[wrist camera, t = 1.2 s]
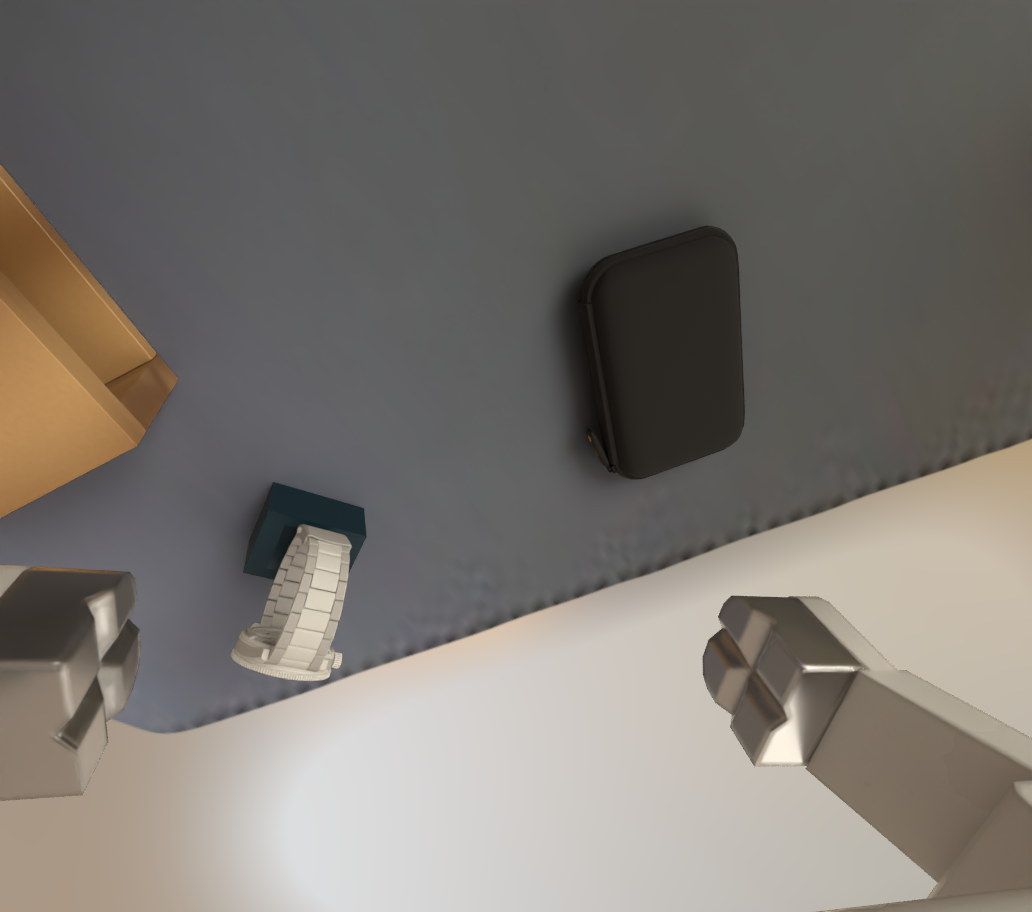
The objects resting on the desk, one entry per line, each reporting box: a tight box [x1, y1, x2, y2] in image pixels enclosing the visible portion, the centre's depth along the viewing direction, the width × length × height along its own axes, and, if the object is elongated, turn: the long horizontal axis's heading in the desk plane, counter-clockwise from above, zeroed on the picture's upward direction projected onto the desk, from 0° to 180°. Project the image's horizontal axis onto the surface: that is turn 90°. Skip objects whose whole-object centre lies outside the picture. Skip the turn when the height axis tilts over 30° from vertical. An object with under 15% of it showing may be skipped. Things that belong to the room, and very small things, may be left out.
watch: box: [231, 483, 366, 681], centre depth 33 cm, size 6×8×11 cm
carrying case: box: [578, 226, 745, 479], centre depth 37 cm, size 11×3×15 cm
